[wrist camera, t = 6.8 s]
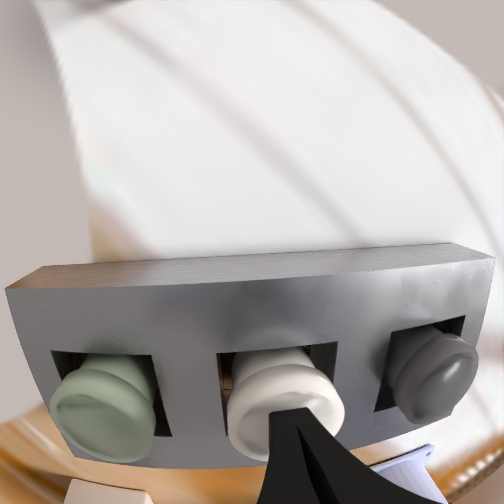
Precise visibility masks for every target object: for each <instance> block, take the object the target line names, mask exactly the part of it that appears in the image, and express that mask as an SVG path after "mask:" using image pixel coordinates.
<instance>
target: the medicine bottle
mask: <svg viewBox="0 0 504 504" xmlns="http://www.w3.org/2000/svg"><path fill="white" fill-rule="evenodd" d="M63 504H154V503H153V502H152V500H151V498H150V496H149V494H148V493H147V492H145V491H138V490H131V489H124V488H118V487H112V486H107V485H102V484H97V483H92V482H87V481H83V480H79V479H75V478H74V479H72V480H71V482H70V484H69V487H68V490H67V493H66V495H65V498H64V501H63Z"/></svg>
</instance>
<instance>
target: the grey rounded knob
mask: <svg viewBox="0 0 504 504" xmlns="http://www.w3.org/2000/svg"><path fill="white" fill-rule="evenodd" d="M477 368H478V354H477V351H476V350H475V349H474V348H473V347H472V346H470V345H469V344H468V343H466V342H465V341H464V340H462V339H461V338H460V337H458V336H457V335H455V334H451V333H446V334H443V333H442V332H440V331H439V330H438V329H436V328H435V327H434V326H432V325H431V324H426V325H421V326H417V327H412V328H407V329H403V330H398V331H393V332H391V336H390V342H389V347H388V352H387V357H386V362H385V367H384V372H383V376H382V377H383V378H384V379H385V380H386V382H387V383H388V384H389V385H390V387H391V388H392V389H393V399H394V402H395V404H396V405H397V406H398V408H399V409H400V410H401V412H402V413H403V414H404V416H405V417H406V418H407V420H408V421H409V422H411V423H412V424H418V425H420V424H426V423H429V422H432V421H434V420H436V419H438V418H440V417H441V416H443V415H444V414H446V413H447V412H448V411H450V410H451V409H452V408H453V407H454V406H455V405H456V404H457V403H458V402H459V401H460V400H461V399H462V397H463V396H464V395H465V393H466V392H467V391H468V389H469V387H470V386H471V384H472V382H473V380H474V378H475V375H476V372H477Z"/></svg>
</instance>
